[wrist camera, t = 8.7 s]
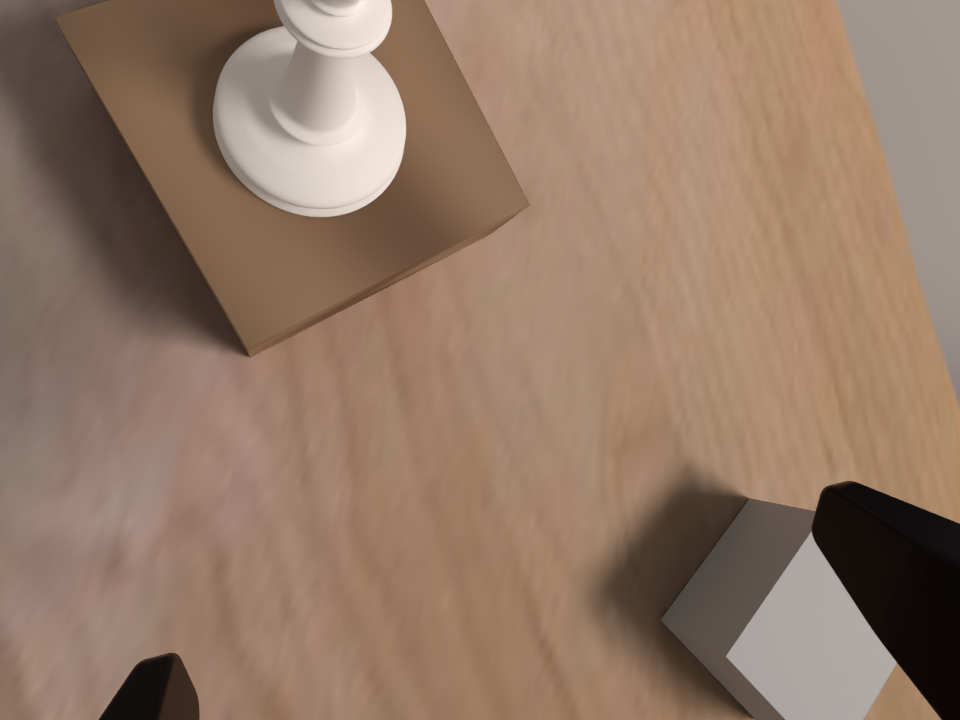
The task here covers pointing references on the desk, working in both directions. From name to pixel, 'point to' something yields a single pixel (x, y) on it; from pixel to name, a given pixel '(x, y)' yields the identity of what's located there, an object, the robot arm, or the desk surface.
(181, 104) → the walnut block
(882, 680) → the slate block
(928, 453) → the desk surface
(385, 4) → the chess piece
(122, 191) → the desk surface
